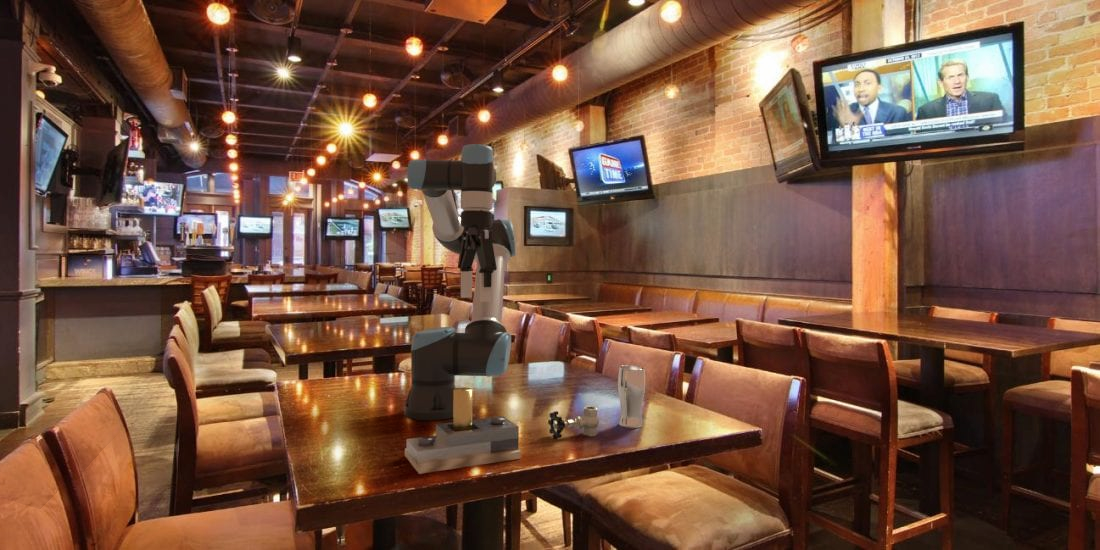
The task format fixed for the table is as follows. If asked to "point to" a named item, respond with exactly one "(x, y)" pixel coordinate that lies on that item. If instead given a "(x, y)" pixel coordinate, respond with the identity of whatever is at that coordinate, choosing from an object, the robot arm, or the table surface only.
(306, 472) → the table surface
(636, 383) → the beer glass
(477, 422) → the stepped bolted base plate
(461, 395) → the brass pin
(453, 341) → the robot arm
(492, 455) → the board
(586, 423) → the valve
